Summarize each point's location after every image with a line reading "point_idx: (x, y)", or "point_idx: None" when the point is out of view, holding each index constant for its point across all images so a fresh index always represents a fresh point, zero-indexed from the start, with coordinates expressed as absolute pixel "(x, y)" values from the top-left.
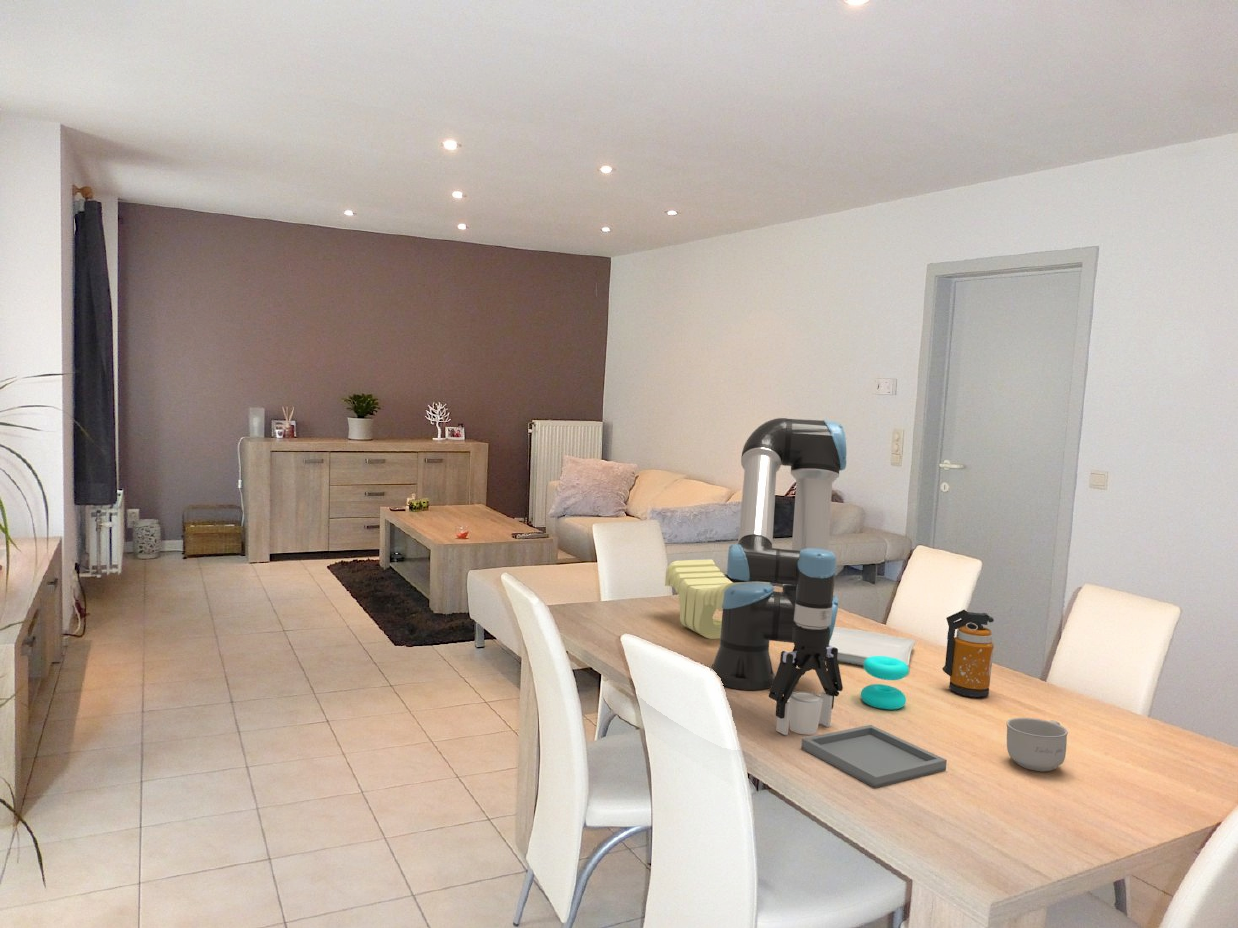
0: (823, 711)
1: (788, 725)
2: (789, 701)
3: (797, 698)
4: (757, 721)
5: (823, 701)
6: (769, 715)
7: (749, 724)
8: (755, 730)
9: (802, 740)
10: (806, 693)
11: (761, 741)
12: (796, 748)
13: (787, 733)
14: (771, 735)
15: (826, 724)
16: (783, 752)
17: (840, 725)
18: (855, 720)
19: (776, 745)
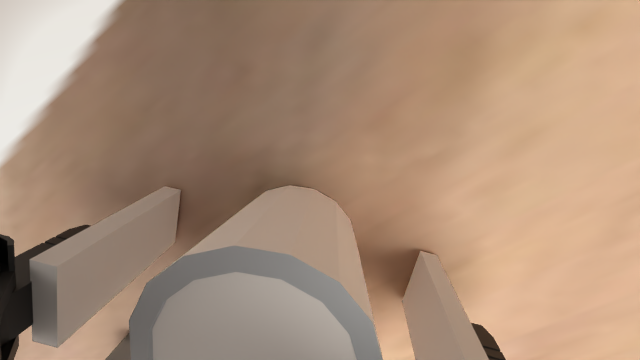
0: (424, 316)
1: (151, 263)
2: (193, 247)
3: (171, 338)
4: (183, 47)
5: (442, 354)
6: (309, 29)
7: (118, 50)
8: (93, 118)
9: (108, 358)
10: (333, 327)
11: (38, 207)
12: (116, 320)
13: (170, 244)
14: (118, 196)
15: (406, 300)
16: None
17: (480, 317)
18: (603, 331)
19: None
